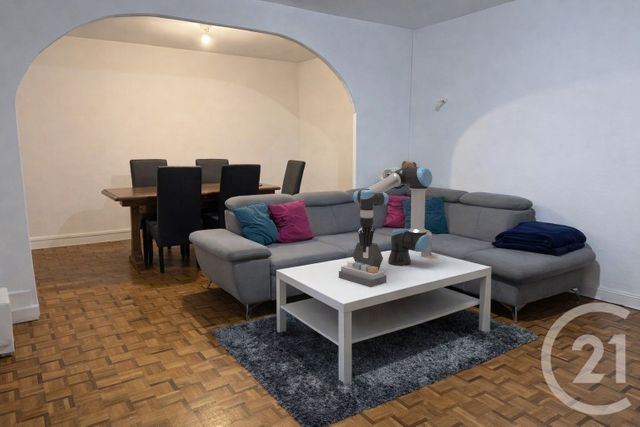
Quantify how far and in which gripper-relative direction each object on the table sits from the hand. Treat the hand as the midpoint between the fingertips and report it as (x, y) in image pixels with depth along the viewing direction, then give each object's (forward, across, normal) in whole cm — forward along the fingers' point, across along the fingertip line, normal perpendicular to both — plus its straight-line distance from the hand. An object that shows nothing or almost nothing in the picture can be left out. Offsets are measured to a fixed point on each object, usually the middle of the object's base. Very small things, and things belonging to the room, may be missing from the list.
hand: (365, 257), depth 261 cm
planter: (+14, -18, -15) cm, 27 cm away
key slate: (+8, 0, -5) cm, 9 cm away
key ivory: (+8, 0, -11) cm, 13 cm away
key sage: (+8, 0, 0) cm, 8 cm away
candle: (+13, -78, -9) cm, 80 cm away
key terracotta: (+8, 0, +5) cm, 9 cm away
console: (+14, 0, -3) cm, 14 cm away
